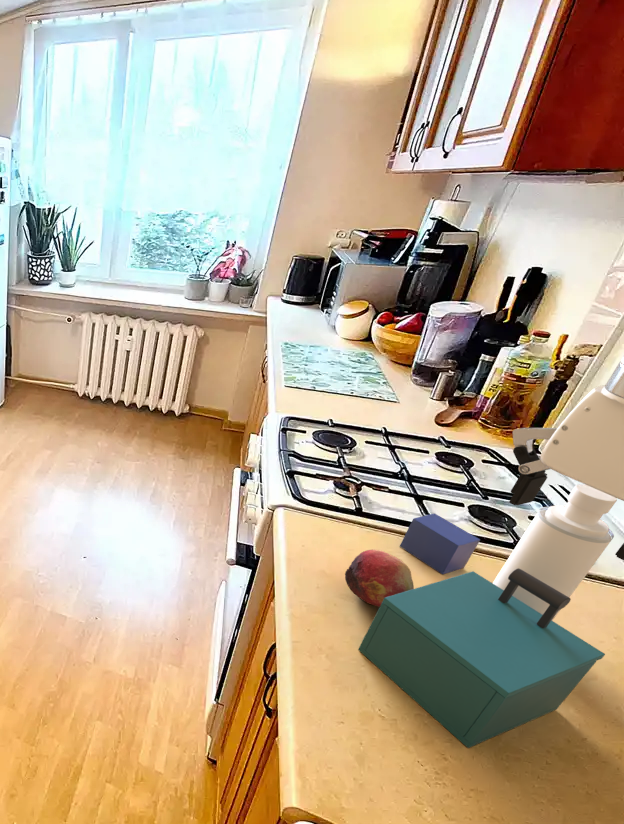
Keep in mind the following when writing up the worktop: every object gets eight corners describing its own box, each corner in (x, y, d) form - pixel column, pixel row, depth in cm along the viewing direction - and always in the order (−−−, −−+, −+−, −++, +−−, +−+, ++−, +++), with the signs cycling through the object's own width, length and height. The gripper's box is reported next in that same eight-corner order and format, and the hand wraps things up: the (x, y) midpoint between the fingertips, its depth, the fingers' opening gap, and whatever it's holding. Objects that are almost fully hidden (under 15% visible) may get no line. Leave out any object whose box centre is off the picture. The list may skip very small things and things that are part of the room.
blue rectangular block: (399, 546, 89) (413, 518, 86) (420, 540, 90) (434, 513, 87) (442, 574, 83) (458, 545, 80) (463, 568, 84) (480, 539, 82)
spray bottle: (469, 624, 74) (562, 479, 63) (478, 601, 78) (567, 460, 67) (532, 655, 70) (645, 505, 58) (538, 629, 73) (645, 483, 62)
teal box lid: (470, 575, 70) (490, 542, 68) (601, 658, 59) (631, 622, 56) (381, 602, 66) (399, 567, 63) (505, 698, 54) (533, 661, 52)
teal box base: (438, 622, 74) (466, 576, 70) (556, 709, 63) (597, 661, 59) (357, 649, 70) (381, 602, 66) (467, 748, 58) (505, 698, 54)
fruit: (407, 626, 73) (431, 585, 70) (345, 611, 76) (365, 570, 72) (390, 588, 80) (411, 548, 76) (333, 575, 82) (351, 535, 79)
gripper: (830, 426, 45) (699, 574, 53) (577, 357, 59) (504, 481, 67) (785, 437, 43) (656, 589, 51) (534, 362, 57) (464, 489, 65)
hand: (569, 527), depth 59 cm, fingers open, 9 cm apart
